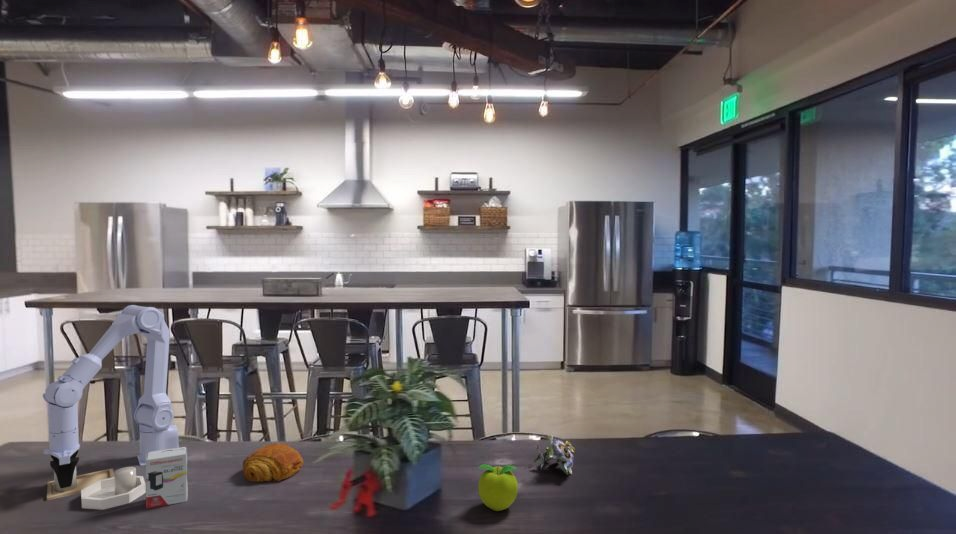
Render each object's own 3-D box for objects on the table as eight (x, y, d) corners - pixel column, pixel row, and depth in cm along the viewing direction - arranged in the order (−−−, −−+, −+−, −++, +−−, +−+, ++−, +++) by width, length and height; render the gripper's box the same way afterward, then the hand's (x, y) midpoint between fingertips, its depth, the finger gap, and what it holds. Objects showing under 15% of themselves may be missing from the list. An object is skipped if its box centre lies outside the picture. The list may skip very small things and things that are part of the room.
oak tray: (112, 471, 144) (112, 468, 144) (115, 486, 136) (115, 482, 136) (47, 485, 136) (47, 481, 136) (46, 502, 128) (46, 497, 128)
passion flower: (568, 493, 145) (577, 469, 138) (528, 483, 146) (535, 459, 139) (571, 456, 154) (579, 432, 146) (533, 447, 155) (540, 423, 148)
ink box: (145, 509, 125) (144, 459, 124) (147, 500, 129) (145, 452, 128) (187, 501, 128) (186, 453, 128) (187, 493, 133) (186, 446, 132)
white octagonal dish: (141, 481, 139) (141, 471, 139) (147, 499, 129) (147, 489, 129) (80, 494, 131) (80, 484, 131) (82, 516, 121) (82, 504, 121)
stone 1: (76, 482, 137) (75, 461, 137) (77, 488, 134) (76, 467, 133) (54, 487, 134) (53, 466, 134) (54, 493, 131) (53, 472, 131)
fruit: (478, 498, 131) (478, 457, 130) (516, 498, 131) (516, 458, 130) (476, 517, 122) (477, 474, 121) (518, 518, 122) (518, 475, 121)
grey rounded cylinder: (136, 486, 135) (135, 465, 134) (136, 493, 131) (135, 471, 131) (115, 490, 132) (114, 469, 132) (114, 498, 129) (114, 475, 128)
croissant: (233, 486, 141) (228, 458, 140) (276, 456, 155) (272, 430, 154) (275, 495, 136) (271, 466, 134) (316, 463, 150) (312, 437, 148)
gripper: (43, 424, 137) (45, 477, 137) (42, 442, 125) (44, 499, 126) (78, 419, 141) (80, 470, 142) (79, 435, 129) (81, 490, 130)
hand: (65, 483), depth 134 cm, fingers closed on stone 1, 4 cm apart
